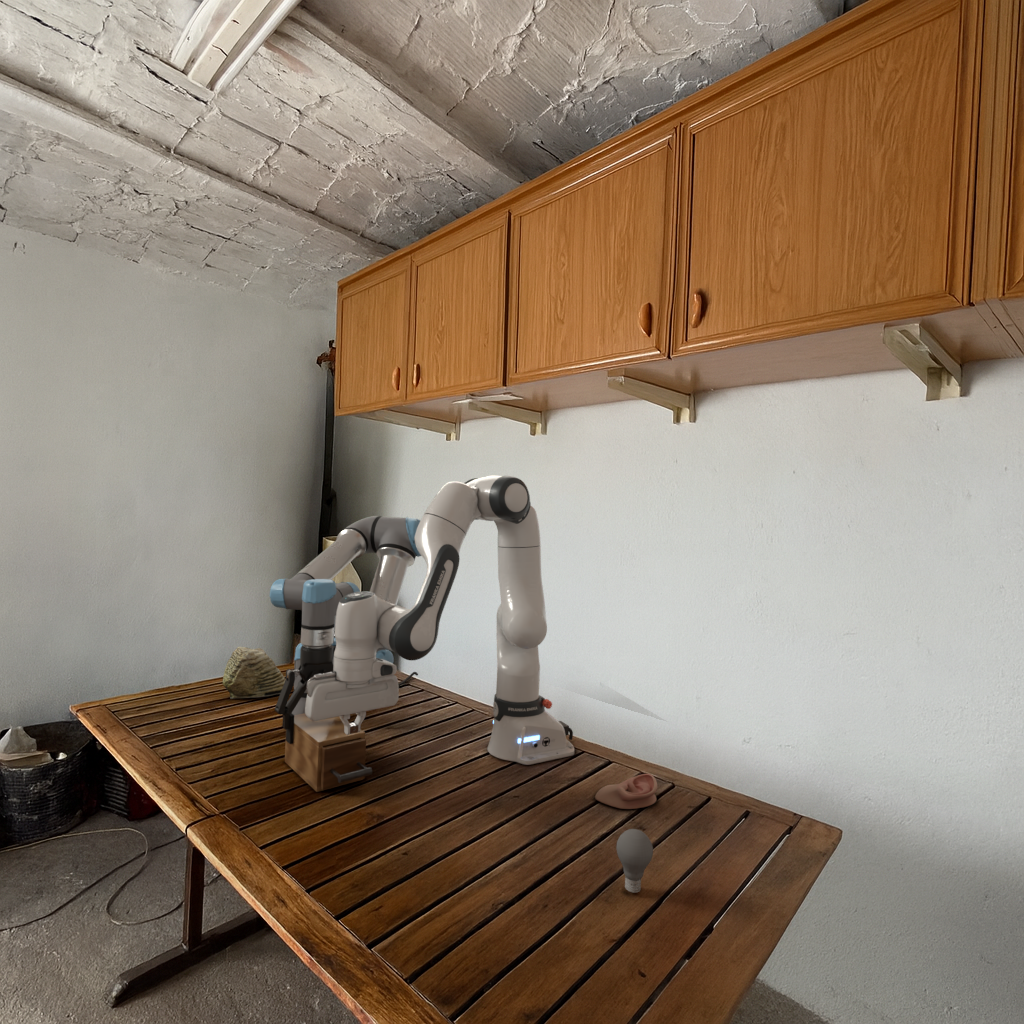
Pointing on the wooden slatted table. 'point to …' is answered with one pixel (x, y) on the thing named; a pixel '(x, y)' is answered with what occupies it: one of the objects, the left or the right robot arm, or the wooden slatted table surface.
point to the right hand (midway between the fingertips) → (352, 732)
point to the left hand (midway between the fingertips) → (313, 736)
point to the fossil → (252, 674)
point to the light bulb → (634, 857)
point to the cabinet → (314, 746)
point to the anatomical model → (630, 793)
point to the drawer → (343, 763)
